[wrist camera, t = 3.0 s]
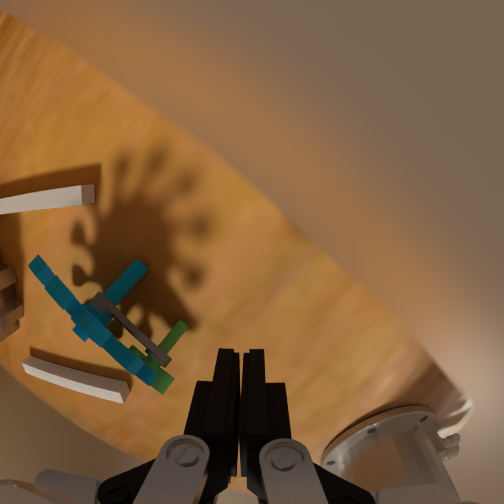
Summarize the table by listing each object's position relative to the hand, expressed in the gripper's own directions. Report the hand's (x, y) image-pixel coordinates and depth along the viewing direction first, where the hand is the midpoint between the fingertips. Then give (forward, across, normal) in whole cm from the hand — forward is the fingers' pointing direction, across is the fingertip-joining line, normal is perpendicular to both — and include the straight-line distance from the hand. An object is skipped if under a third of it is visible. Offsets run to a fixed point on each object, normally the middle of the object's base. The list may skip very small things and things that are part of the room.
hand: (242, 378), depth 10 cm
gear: (+8, +8, +1) cm, 11 cm away
